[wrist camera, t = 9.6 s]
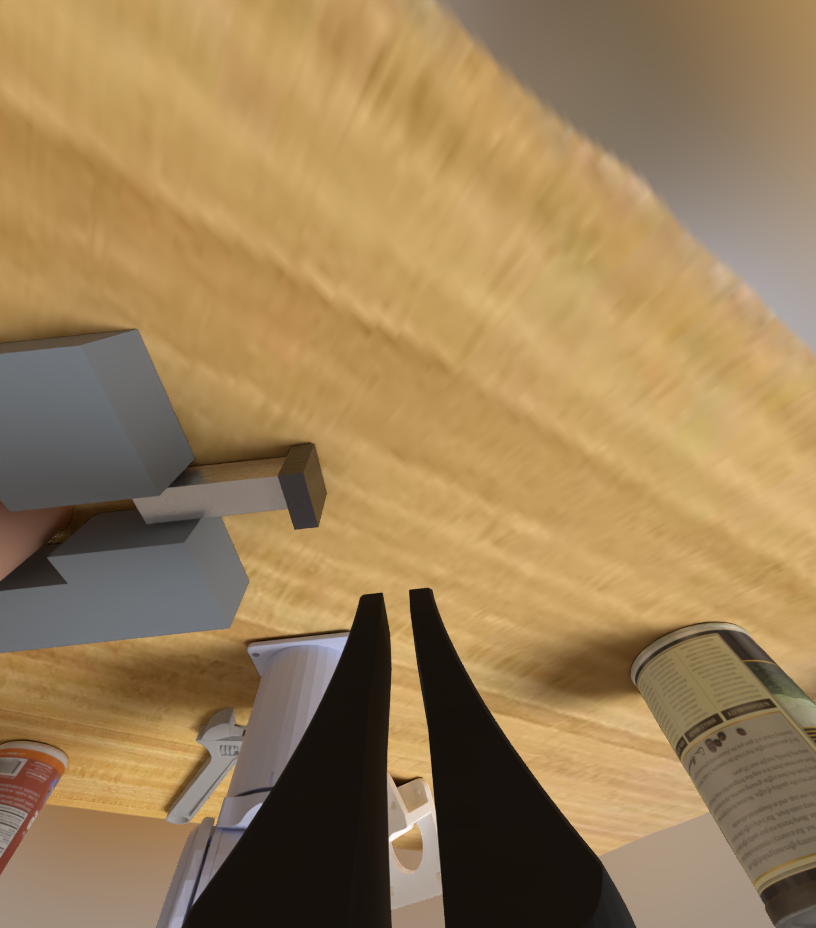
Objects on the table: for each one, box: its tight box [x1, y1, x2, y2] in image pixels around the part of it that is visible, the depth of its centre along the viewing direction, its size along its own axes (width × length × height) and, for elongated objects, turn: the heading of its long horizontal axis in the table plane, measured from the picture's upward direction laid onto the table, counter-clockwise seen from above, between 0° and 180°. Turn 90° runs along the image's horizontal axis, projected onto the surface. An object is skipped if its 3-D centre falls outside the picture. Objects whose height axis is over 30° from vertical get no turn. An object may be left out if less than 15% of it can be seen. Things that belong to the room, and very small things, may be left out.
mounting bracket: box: [387, 771, 443, 910], centre depth 38 cm, size 12×6×11 cm, turn 131°
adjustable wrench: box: [166, 707, 247, 824], centre depth 36 cm, size 25×6×2 cm, turn 143°
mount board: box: [0, 329, 249, 653], centre depth 18 cm, size 16×16×4 cm
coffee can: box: [631, 622, 816, 928], centre depth 25 cm, size 10×10×14 cm
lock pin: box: [132, 444, 327, 530], centre depth 18 cm, size 3×9×3 cm, turn 95°
